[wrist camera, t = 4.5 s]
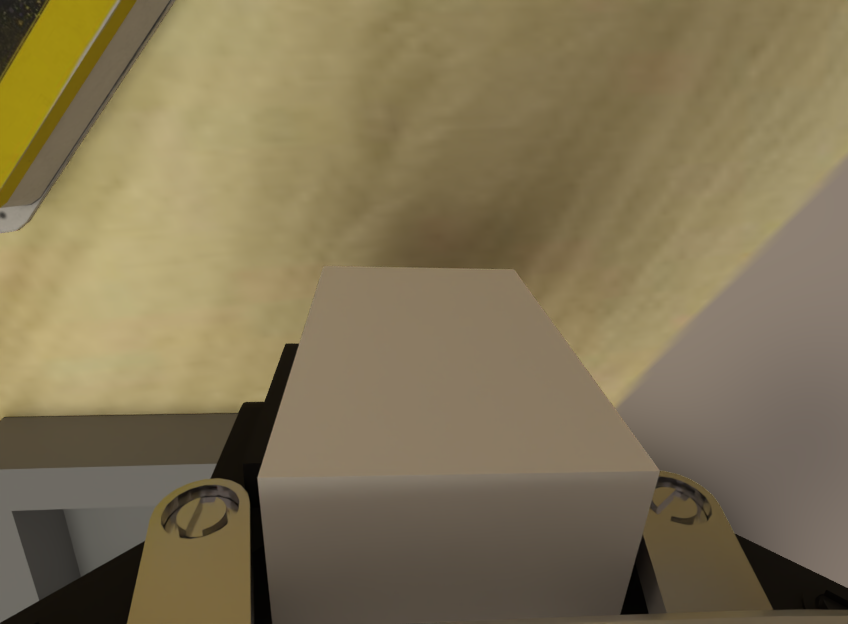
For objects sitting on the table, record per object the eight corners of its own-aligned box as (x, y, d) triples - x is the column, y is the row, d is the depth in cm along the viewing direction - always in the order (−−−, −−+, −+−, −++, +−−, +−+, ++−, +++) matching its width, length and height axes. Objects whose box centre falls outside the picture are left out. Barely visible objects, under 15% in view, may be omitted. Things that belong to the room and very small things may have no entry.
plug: (514, 269, 12) (659, 471, 6) (492, 456, 14) (581, 753, 8) (323, 266, 12) (257, 477, 5) (329, 458, 14) (287, 772, 8)
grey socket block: (471, 409, 24) (486, 456, 21) (456, 585, 28) (467, 648, 25) (4, 417, 22) (-59, 470, 19) (59, 606, 26) (15, 677, 23)
